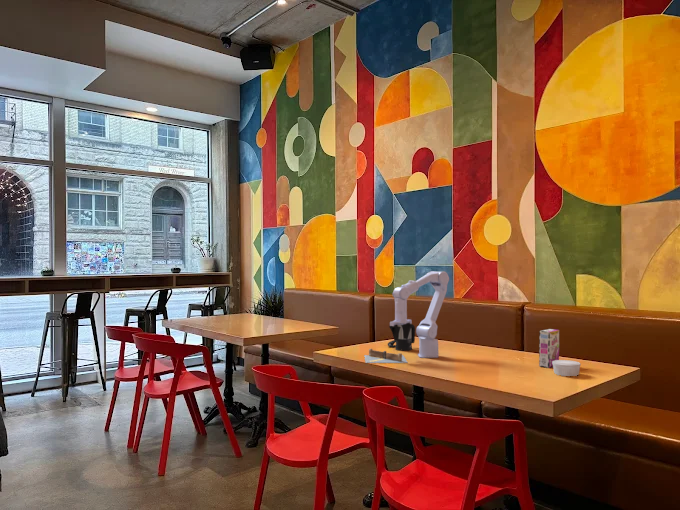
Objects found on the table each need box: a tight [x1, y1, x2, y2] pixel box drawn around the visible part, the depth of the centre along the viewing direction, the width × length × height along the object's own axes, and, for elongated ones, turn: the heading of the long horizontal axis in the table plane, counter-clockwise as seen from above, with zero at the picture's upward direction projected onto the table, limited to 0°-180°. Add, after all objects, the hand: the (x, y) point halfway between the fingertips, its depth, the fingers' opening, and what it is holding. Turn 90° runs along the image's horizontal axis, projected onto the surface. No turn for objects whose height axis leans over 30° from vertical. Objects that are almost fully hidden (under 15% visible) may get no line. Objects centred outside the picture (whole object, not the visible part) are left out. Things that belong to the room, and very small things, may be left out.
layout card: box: [363, 354, 408, 364], centre depth 255 cm, size 20×19×1 cm
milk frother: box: [387, 323, 416, 352], centre depth 286 cm, size 14×16×15 cm
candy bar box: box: [538, 328, 560, 369], centre depth 238 cm, size 11×5×16 cm, turn 134°
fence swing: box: [386, 352, 403, 361], centre depth 251 cm, size 9×2×3 cm, turn 45°
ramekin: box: [552, 359, 581, 377], centre depth 220 cm, size 11×11×5 cm
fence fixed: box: [368, 348, 387, 359], centre depth 259 cm, size 2×11×4 cm, turn 45°
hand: (401, 339), depth 253 cm, fingers open, 7 cm apart
